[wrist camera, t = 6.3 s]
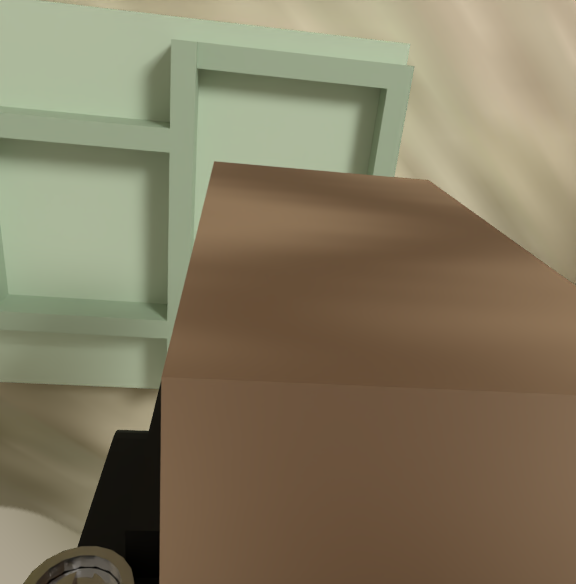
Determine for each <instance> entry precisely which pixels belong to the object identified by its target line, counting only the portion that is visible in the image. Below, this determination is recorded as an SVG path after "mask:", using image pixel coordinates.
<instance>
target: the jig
mask: <svg viewBox="0 0 576 584" xmlns="http://www.w3.org/2000/svg"><path fill="white" fill-rule="evenodd" d="M409 49H410V44H407V43H399V42H390V41H381V40H373V39H364V38H356V37H347V36H339V35H330V34H322V33H313V32H304V31H296V30H287V29H279V28H270V27H262V26H253V25H245V24H236V23H227V22H219V21H210V20H202V19H193V18H185V17H176V16H168V15H159V14H150V13H142V12H133V11H125V10H116V9H108V8H99V7H90V6H82V5H73V4H65V3H56V2H48V1H39V0H0V382H12V383H35V384H58V385H80V386H103V387H126V388H148V389H159V387H160V383H161V377H162V372H163V368H164V364H165V360H166V356H167V352H168V348H169V344H170V340H171V336H172V332H173V327H174V323H175V319H176V315H177V311H178V307H179V303H180V299H181V295H182V291H183V287H184V282H185V278H186V274H187V270H188V266H189V262H190V258H191V254H192V250H193V246H194V242H195V237H196V233H197V229H198V225H199V221H200V217H201V213H202V209H203V205H204V201H205V197H206V192H207V188H208V184H209V180H210V176H211V172H212V168H213V164H214V161H217V162H228V163H240V164H251V165H262V166H274V167H285V168H296V169H308V170H319V171H330V172H342V173H353V174H364V175H376V176H387V177H394V175H395V170H396V164H397V159H398V154H399V148H400V143H401V137H402V132H403V126H404V121H405V115H406V110H407V104H408V99H409V93H410V88H411V82H412V77H413V72H414V66H408V65H407V60H408V54H409Z"/></svg>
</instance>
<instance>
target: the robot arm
mask: <svg viewBox="0 0 576 584" xmlns="http://www.w3.org/2000/svg"><path fill="white" fill-rule="evenodd" d="M160 470H161V383H160V387H159V392H158V396H157V400H156V404H155V408H154V412H153V416H152V421H151V425H150V429H149V431H134V430H117V431H116V433H115V435H114V437H113V440H112V443H111V446H110V449H109V452H108V455H107V459H106V462H105V465H104V468H103V471H102V474H101V477H100V480H99V483H98V486H97V489H96V492H95V495H94V498H93V501H92V504H91V507H90V510H89V513H88V516H87V519H86V522H85V526H84V529H83V532H82V535H81V538H80V541H79V544H78V547H77V548H73V549H69V550H65V551H62V552H61V553H58V554H57V555H54V556H52V557H51V558H49V559H47V560H46V561H44V562H43V563H42V564H41V565H39V566H38V567H37V568H36V569H35V570H34V571H32V573H31V574H30V575H29V577H28V578H27V579H26V581H25V582H24V583H23V584H159V575H160Z"/></svg>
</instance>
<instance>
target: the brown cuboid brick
mask: <svg viewBox="0 0 576 584" xmlns="http://www.w3.org/2000/svg"><path fill="white" fill-rule="evenodd" d="M159 584H576V286H575V285H574V284H573V283H571V282H570V281H568V280H567V279H566V278H564V277H563V276H562V275H560V274H559V273H557V272H556V271H555V270H553V269H552V268H550V267H549V266H548V265H546V264H545V263H543V262H542V261H541V260H539V259H538V258H536V257H535V256H534V255H532V254H531V253H529V252H528V251H527V250H525V249H524V248H522V247H521V246H520V245H518V244H517V243H515V242H514V241H513V240H511V239H510V238H508V237H507V236H506V235H504V234H503V233H502V232H500V231H499V230H497V229H496V228H495V227H493V226H492V225H490V224H489V223H488V222H486V221H485V220H483V219H482V218H481V217H479V216H478V215H476V214H475V213H474V212H472V211H471V210H469V209H468V208H467V207H465V206H464V205H462V204H461V203H460V202H458V201H457V200H455V199H454V198H453V197H451V196H450V195H449V194H447V193H446V192H444V191H443V190H442V189H440V188H439V187H437V186H436V185H435V184H433V183H432V182H430V181H429V180H421V179H410V178H398V177H387V176H376V175H364V174H353V173H342V172H330V171H319V170H308V169H296V168H285V167H274V166H262V165H251V164H240V163H228V162H217V161H214V164H213V168H212V172H211V176H210V180H209V184H208V188H207V192H206V197H205V201H204V205H203V209H202V213H201V217H200V221H199V225H198V229H197V233H196V237H195V242H194V246H193V250H192V254H191V258H190V262H189V266H188V270H187V274H186V278H185V282H184V287H183V291H182V295H181V299H180V303H179V307H178V311H177V315H176V319H175V323H174V327H173V332H172V336H171V340H170V344H169V348H168V352H167V356H166V360H165V364H164V368H163V372H162V377H161V470H160V575H159Z"/></svg>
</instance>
